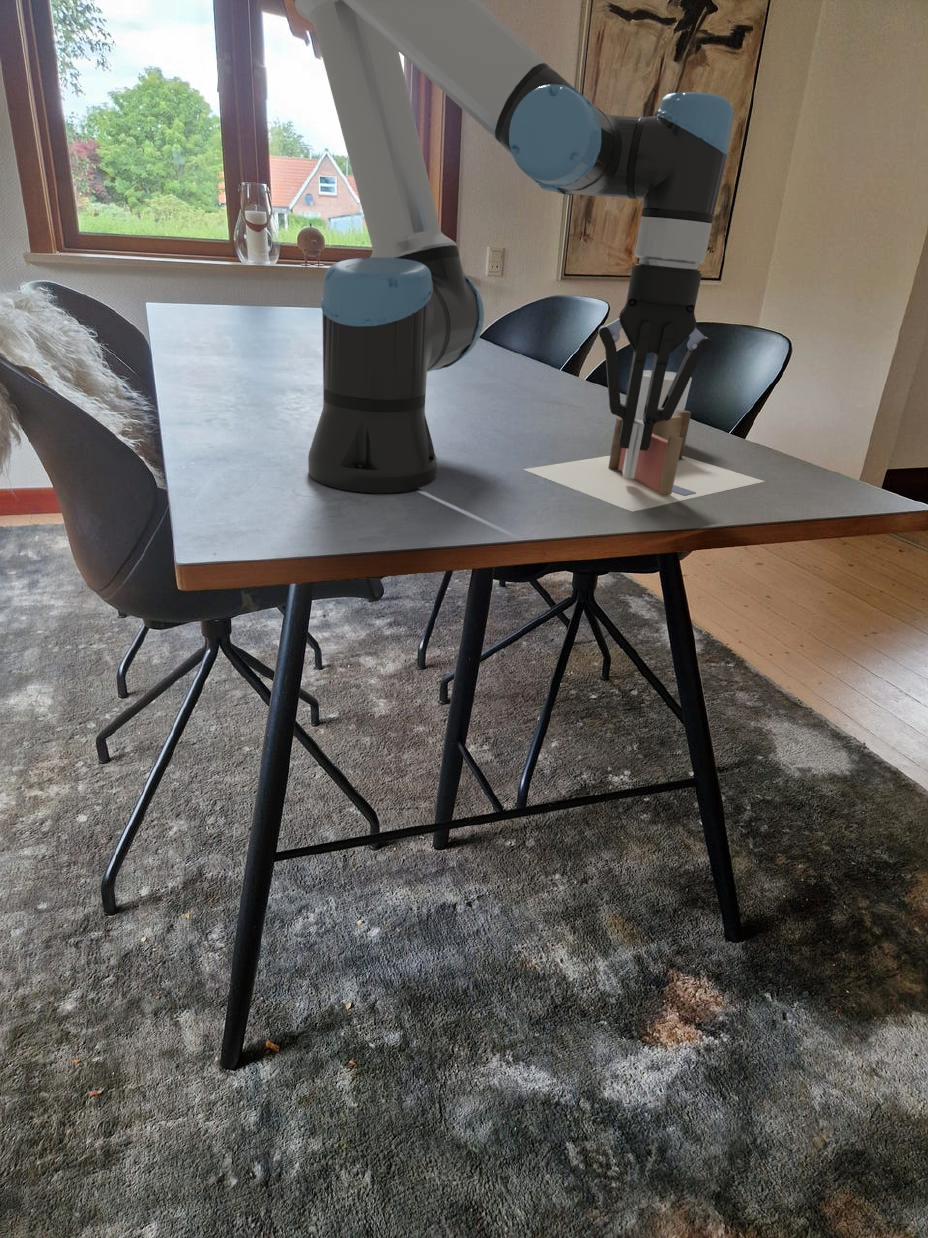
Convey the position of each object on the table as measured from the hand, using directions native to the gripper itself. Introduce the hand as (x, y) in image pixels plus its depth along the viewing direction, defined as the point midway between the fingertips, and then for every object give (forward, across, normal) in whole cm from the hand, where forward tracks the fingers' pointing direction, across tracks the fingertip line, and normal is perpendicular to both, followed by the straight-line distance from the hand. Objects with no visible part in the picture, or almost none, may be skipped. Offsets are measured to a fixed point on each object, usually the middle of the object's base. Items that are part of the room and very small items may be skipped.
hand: (628, 474), depth 96 cm
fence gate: (+1, -2, -2) cm, 3 cm away
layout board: (+2, -3, -6) cm, 7 cm away
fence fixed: (+1, -4, -12) cm, 13 cm away
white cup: (+2, -6, -27) cm, 28 cm away
